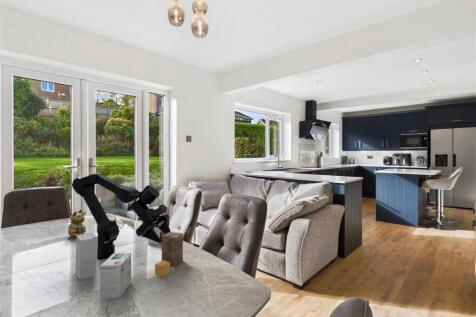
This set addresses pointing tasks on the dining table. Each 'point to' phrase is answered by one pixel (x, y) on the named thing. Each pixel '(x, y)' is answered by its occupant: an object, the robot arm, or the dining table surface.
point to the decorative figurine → (77, 224)
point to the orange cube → (162, 268)
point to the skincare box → (86, 255)
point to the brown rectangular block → (172, 248)
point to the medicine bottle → (158, 235)
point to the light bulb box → (115, 275)
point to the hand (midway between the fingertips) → (166, 239)
